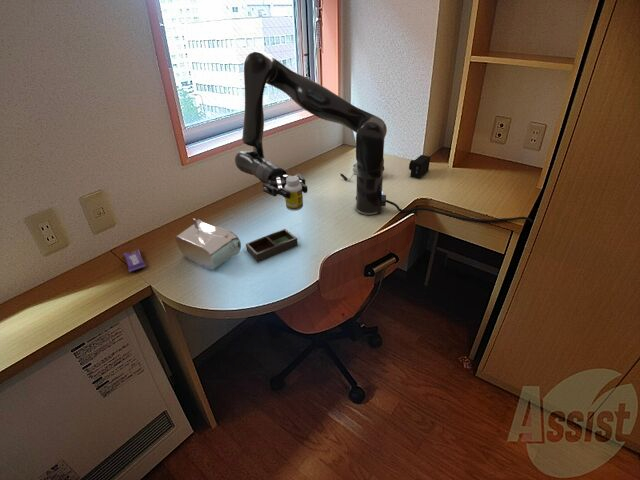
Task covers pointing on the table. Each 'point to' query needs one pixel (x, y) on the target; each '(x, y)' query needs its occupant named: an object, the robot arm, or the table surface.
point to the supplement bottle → (294, 193)
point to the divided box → (271, 245)
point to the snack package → (134, 260)
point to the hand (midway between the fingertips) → (297, 192)
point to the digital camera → (419, 166)
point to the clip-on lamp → (353, 171)
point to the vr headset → (208, 244)
